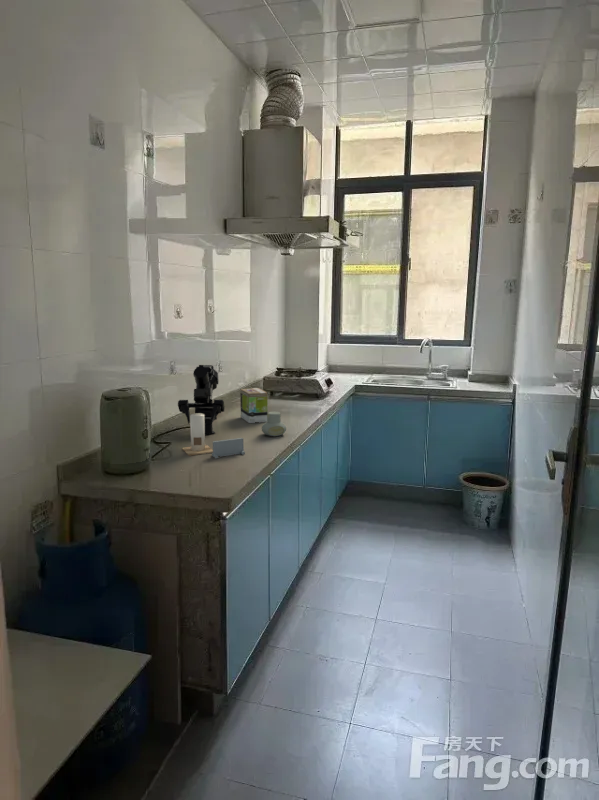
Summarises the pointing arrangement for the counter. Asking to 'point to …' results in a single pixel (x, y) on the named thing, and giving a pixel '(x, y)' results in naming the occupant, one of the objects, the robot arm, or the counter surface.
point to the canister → (197, 431)
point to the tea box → (254, 405)
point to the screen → (228, 447)
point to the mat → (190, 452)
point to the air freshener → (273, 425)
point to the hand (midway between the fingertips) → (200, 423)
